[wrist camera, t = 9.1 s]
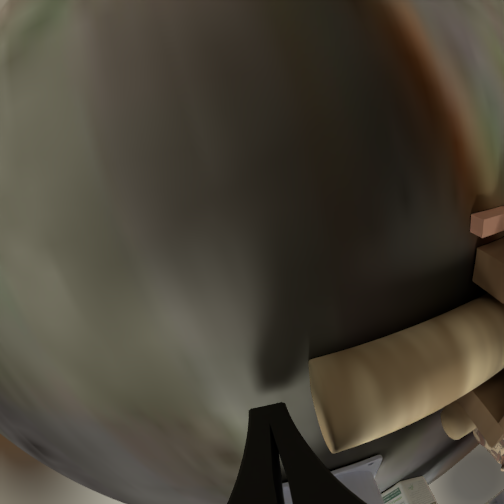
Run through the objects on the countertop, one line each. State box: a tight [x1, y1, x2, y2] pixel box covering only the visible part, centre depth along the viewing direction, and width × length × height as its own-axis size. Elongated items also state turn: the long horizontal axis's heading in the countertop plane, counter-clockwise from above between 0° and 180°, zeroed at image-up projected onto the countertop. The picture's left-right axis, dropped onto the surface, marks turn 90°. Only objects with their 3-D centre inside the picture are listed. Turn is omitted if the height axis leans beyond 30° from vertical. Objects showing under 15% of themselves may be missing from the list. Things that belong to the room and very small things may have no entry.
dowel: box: [308, 293, 504, 453], centre depth 10 cm, size 12×4×4 cm, turn 100°
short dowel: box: [441, 400, 477, 440], centre depth 14 cm, size 8×3×3 cm, turn 101°
